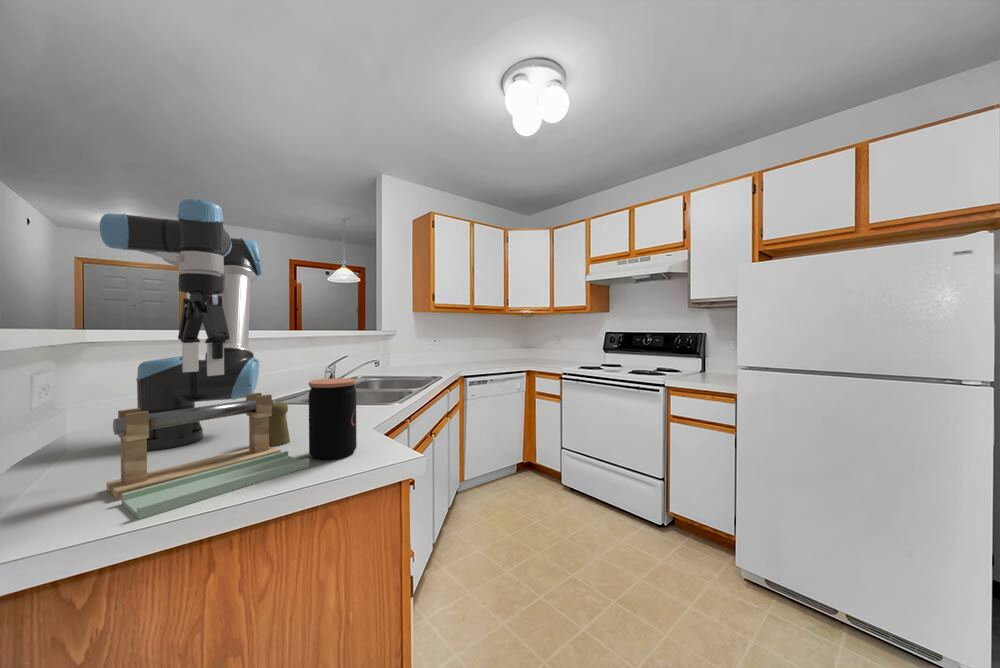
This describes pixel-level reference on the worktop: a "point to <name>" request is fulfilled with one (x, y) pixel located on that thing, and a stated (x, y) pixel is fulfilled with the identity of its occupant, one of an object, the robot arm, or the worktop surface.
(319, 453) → the coffee jar
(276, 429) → the olive green shaker
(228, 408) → the rail
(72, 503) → the worktop surface
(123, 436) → the rail rack
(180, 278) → the robot arm
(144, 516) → the tray
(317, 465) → the worktop surface
